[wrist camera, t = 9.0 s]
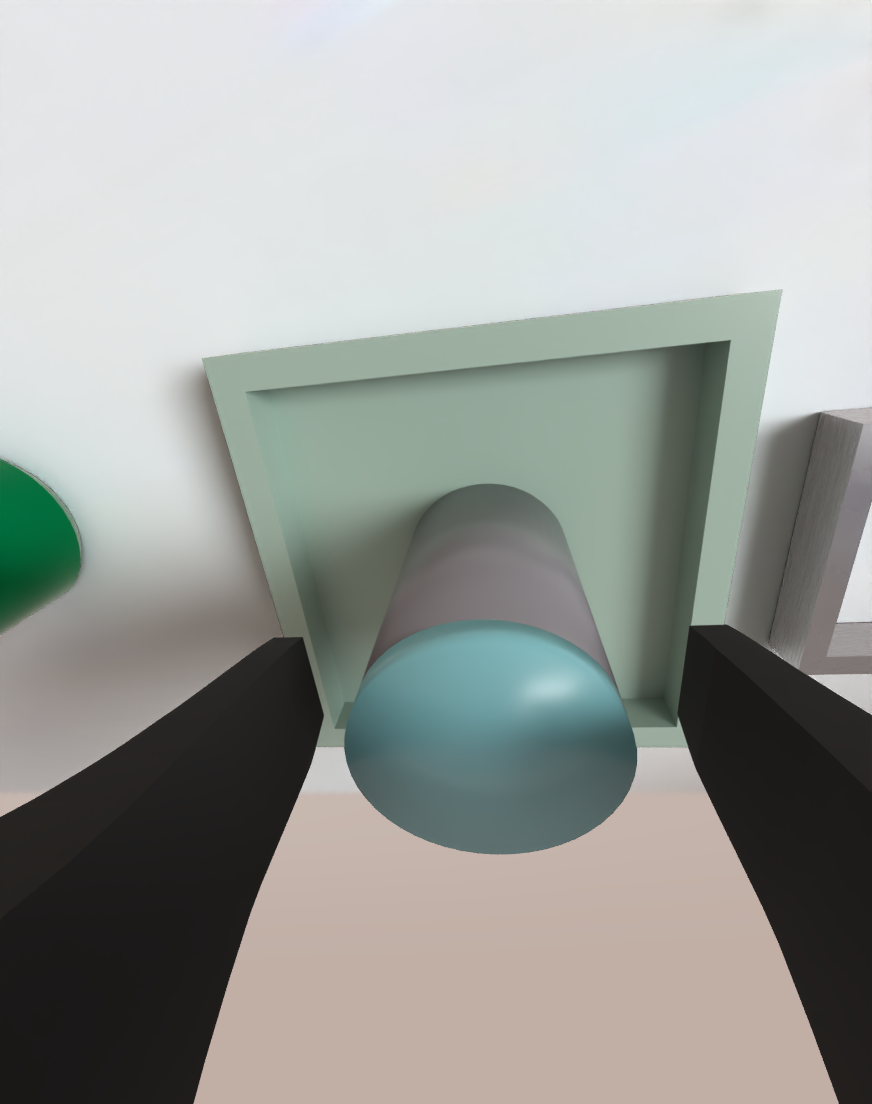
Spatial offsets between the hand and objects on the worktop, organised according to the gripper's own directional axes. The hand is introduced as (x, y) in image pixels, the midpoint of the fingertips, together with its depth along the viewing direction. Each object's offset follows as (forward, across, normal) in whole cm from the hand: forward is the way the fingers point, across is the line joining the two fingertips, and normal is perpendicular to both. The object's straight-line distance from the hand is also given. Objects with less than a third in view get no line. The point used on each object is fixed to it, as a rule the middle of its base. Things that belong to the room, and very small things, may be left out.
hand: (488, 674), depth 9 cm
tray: (+6, 0, 0) cm, 6 cm away
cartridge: (+5, 0, 0) cm, 5 cm away
